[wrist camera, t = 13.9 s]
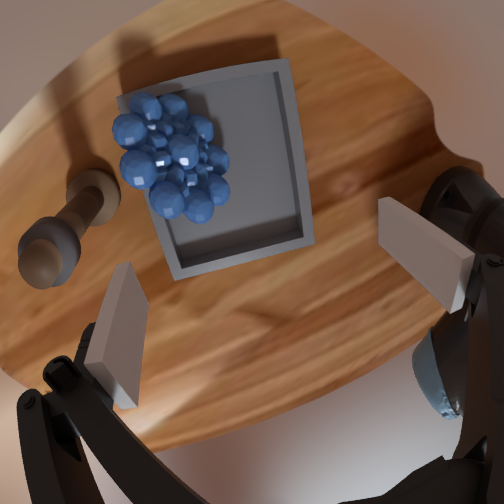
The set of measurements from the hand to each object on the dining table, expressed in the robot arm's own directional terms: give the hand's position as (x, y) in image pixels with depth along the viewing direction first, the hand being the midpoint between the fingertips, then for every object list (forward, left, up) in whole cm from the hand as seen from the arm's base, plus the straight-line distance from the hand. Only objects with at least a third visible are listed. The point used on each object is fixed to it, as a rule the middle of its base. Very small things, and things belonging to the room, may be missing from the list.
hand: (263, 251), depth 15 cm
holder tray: (0, 0, -18) cm, 18 cm away
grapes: (0, 0, -17) cm, 17 cm away
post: (+14, -1, -19) cm, 23 cm away
